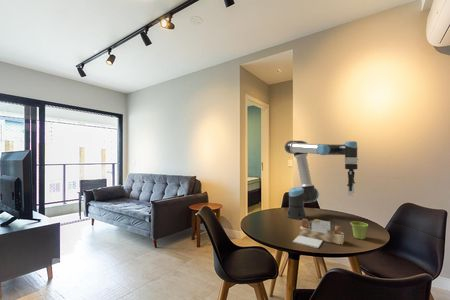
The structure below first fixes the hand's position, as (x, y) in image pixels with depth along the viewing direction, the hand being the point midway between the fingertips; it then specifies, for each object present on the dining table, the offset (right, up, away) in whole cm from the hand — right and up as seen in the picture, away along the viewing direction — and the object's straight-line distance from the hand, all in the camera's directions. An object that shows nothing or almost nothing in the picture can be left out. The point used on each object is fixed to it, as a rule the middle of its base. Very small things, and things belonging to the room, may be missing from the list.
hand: (351, 194), depth 152 cm
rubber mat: (-39, -24, -23) cm, 51 cm away
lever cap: (-29, -19, -17) cm, 38 cm away
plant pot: (-4, -24, -16) cm, 29 cm away
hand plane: (-29, -24, -17) cm, 41 cm away
